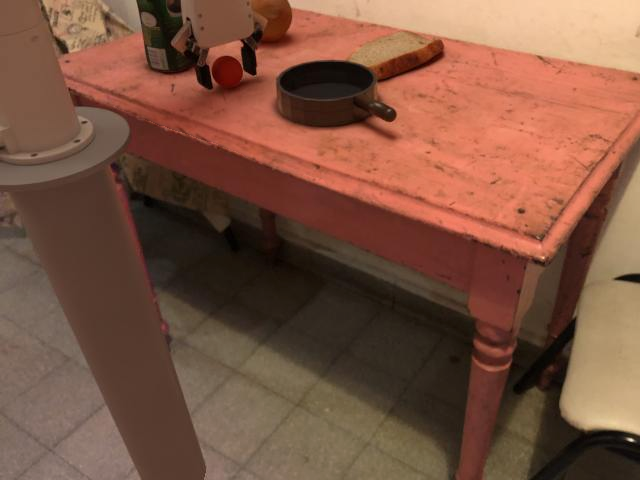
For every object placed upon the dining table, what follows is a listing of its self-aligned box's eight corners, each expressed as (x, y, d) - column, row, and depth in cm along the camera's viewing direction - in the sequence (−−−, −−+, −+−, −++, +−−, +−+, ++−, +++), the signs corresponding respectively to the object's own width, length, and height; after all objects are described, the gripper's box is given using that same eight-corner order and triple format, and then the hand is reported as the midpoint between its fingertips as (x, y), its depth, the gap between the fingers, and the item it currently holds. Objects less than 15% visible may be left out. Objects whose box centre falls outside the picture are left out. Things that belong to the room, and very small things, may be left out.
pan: (318, 136, 83) (316, 110, 81) (259, 102, 92) (256, 77, 90) (397, 105, 90) (398, 80, 88) (335, 76, 100) (334, 52, 97)
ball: (224, 95, 94) (219, 65, 91) (208, 86, 97) (203, 56, 94) (250, 87, 97) (246, 56, 94) (234, 78, 100) (230, 48, 97)
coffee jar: (180, 51, 110) (158, -61, 98) (211, 59, 106) (192, -55, 94) (140, 68, 104) (110, -48, 92) (171, 77, 100) (144, -42, 88)
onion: (232, 42, 113) (224, -14, 107) (269, 28, 119) (263, -26, 113) (267, 53, 108) (261, -5, 102) (304, 38, 114) (300, -18, 108)
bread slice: (344, 85, 97) (343, 62, 94) (344, 45, 110) (343, 25, 108) (453, 82, 97) (456, 60, 94) (440, 43, 110) (441, 23, 108)
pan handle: (388, 126, 80) (389, 112, 79) (351, 107, 85) (351, 93, 84) (399, 121, 81) (400, 108, 80) (361, 103, 86) (361, 90, 85)
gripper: (247, -52, 92) (261, 60, 103) (142, -32, 83) (169, 88, 94) (275, -44, 87) (285, 72, 98) (166, -21, 79) (192, 103, 90)
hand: (228, 79), depth 96 cm, fingers open, 7 cm apart
